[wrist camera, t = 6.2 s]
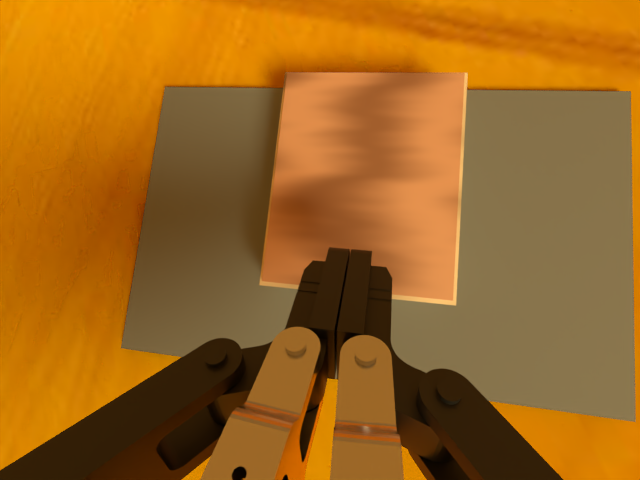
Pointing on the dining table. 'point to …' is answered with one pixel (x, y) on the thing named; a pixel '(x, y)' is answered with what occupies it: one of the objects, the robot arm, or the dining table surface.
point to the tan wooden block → (369, 177)
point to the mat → (474, 245)
